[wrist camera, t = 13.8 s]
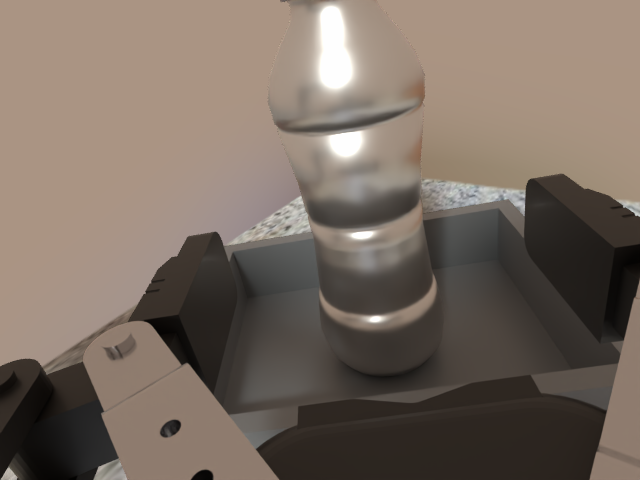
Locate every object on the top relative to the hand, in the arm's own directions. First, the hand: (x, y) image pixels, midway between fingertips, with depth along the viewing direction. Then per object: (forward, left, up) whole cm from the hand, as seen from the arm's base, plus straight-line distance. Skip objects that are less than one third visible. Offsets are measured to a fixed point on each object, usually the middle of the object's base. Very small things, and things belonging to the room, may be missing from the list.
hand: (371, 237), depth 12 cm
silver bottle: (0, +9, -13) cm, 16 cm away
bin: (0, +9, -13) cm, 16 cm away
